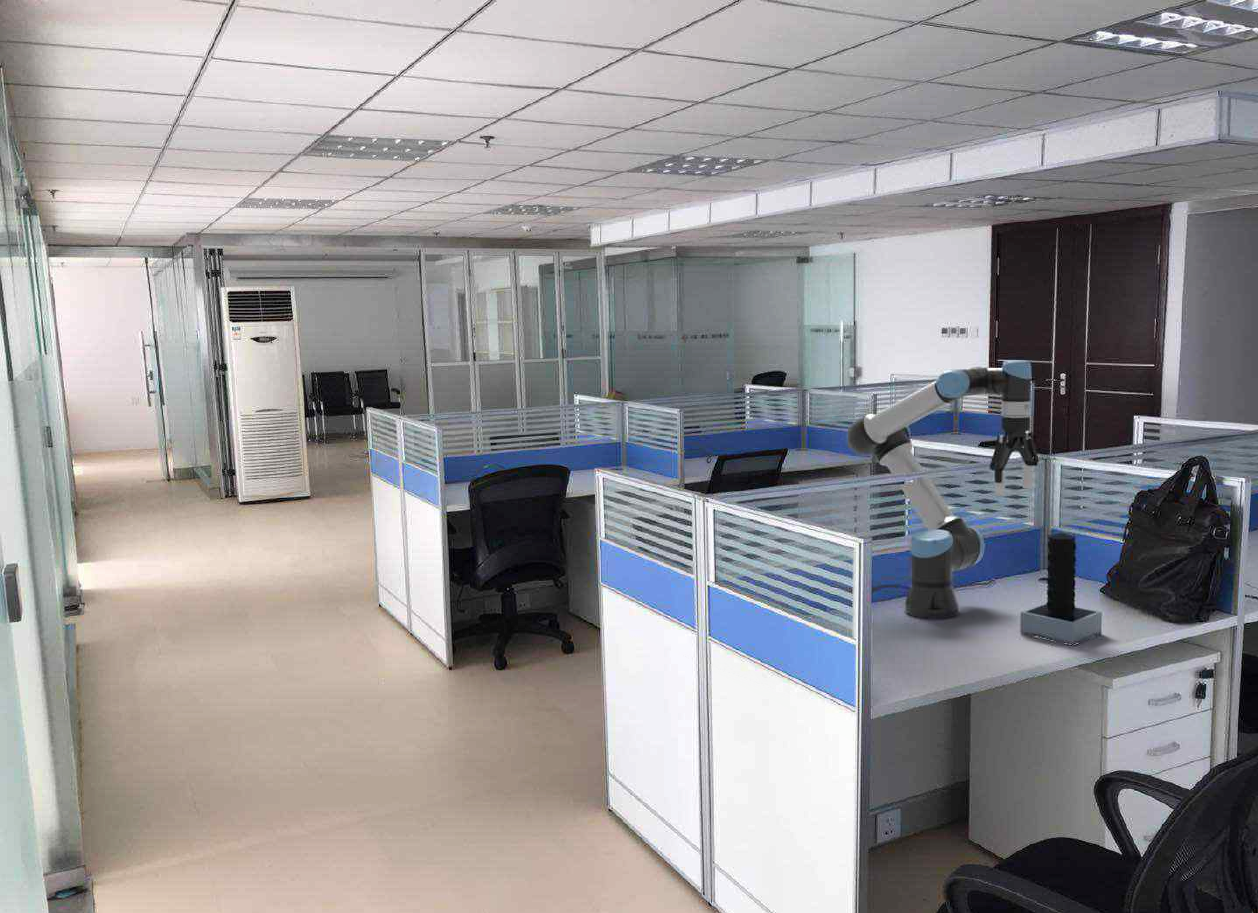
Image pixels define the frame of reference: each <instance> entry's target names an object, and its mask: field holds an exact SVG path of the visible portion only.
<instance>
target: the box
mask: <svg viewBox="0 0 1258 913" xmlns="http://www.w3.org/2000/svg"><path fill="white" fill-rule="evenodd" d="M1047 609H1048V608H1047V602H1045V603H1042V604H1038V605H1036V606H1034V607H1030V608H1028V609H1025V610H1022V611H1020V619H1019V620H1020V621H1019V622H1020V624H1019V626H1020V628H1019V630H1020V631H1019V632H1020V633H1021V634H1020V635H1023V634H1024V636H1027V635H1029V636H1028V637H1032V636H1038V637H1041V638H1046V639H1049V640H1053V641H1056V642H1055V643H1058V642H1060V643H1059V644H1062V643H1067V644H1071V645H1074V644H1076V643H1079V644H1082V643H1083V642H1082V641H1084V642H1086V641H1088V640H1090V639H1089V638H1091V637H1093V636H1095V637H1097V635H1098V636H1099V634H1100V635H1102V626H1103V625H1102V624H1103V622H1102V619H1103V618H1102V615H1103V614H1102V611H1098V610H1094V609H1089V608H1085V607H1079V606H1075V609H1074V611H1075V613H1074V617H1075V621H1074V622H1070V621H1065V620H1060V619H1055V618H1051V617H1047V613H1048V612H1047ZM1093 638H1094V637H1093ZM1087 639H1088V640H1087ZM1091 639H1092V638H1091ZM1049 640H1048V641H1049ZM1085 640H1086V641H1085ZM1053 641H1052V642H1053ZM1067 644H1066V645H1067ZM1071 645H1070V646H1071Z"/></svg>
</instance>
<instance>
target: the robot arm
mask: <svg viewBox="0 0 1258 913" xmlns="http://www.w3.org/2000/svg"><path fill="white" fill-rule="evenodd" d="M1032 378H1033V375H1032V364H1031V362H1029V360H1007V361H1006V360H1005V361H1003V363H1002V366H1001V367H980V366H974V367H967V368H965V369H964V368H963V369H956V368H955V369H950V370H946V371H944V372H941V374H940V376H938V378H937V380H935V381H933V382H931V383H930V384H928V385H925V386H924V387H922V388H920V389H919V390H916V391H915V392H913V393H911V394H910V395H908V396H906V397H904V398H902V399H901V400H898V401H897V402H895V403H893V404H891V405H890V406H888V407H886V408H884V409H883V410H881V411H879V412H877V413H876V414H874V413H869V414H867V415H865V416H863V417H861V418H859V419H857V420H855V421H854V422H853V423H852V424H851V425H850V426H849V427H848V429H847V432H846V442H847V445H848V447H849V448H850V450H851V451H852V452H854V453H855V454H857V455H859V456H865V457H869V456H874V457H875V458H876V460H877V461H878V463H879V465H880V466H884V467H887V468H888V470H889V471H890V473H891V475H893V474H894V473H903V472H906V474H907V473H909V472H920V473H922V472H925V471H924V470H925V469H923V467H922V466H921V464H920V462H919V461H918V459H917V458H916V457H915V455H914V453H913V452H912V450H913V443H912V442H911V438H912V437H911V434H912V433H911V432H912V431H911V429H910V425H911V424H914V423H916V422H917V421H919V420H921V419H922V418H925V417H926V416H929V415H930V414H933V413H934V412H936V411H938V410H940V409H942V408H944V407H945V406H947V405H949V404H951V403H953V402H955V401H957V400H959V399H961V398H963V397H969V396H977V395H1001V407H1000V408H1001V412H1000V413H1001V416H1002V417H1001V420H1000V421H1001V422H1000V429H1001V430H1002V431H1004V434H1003V435H1002V434H998V435H997V436H996V437H997V438H996V444H995V448H994V450H993V451H994V452H993V454H992V457H991V461H990V464H989V469H990V470H991V471H993V472H994V494H995V495H1001V496H1005V495H1006V473H1007V472H1006V471H1004V470H1005V468H1006V466H1007V463H1008V462H1009V459H1010V457H1011V455H1012V453H1014V452H1015V451H1017V450H1018V454H1019V455H1020V457H1021V458H1022V461H1023V463H1024V464H1023V466H1022V488H1023V489H1030V490H1032V489H1034V485H1033V484H1034V466H1035V467H1037V466H1038V463H1039V461H1040V460H1039V456H1038V452H1037V449H1036V444H1035V442H1034V432H1033V431H1030V430H1031V418H1030V417H1029V416H1030V415H1031V408H1032V407H1031V395H1032V394H1031V393H1032V392H1031V391H1032V389H1031V388H1032V387H1031V386H1032ZM902 475H904V474H902ZM900 489H902V492H903V493H904V495H905V496H906V498H907V499H908V501H909V502H910V504H911V505H912V507H913V508H914V510H915V512H916V513H917V514H918V517H919V518H920V520H921V521H922V523H923V524H924V525H925V526H926V529H927V530H921V531H918V532H915V533H914V534H913V535H912V536H911V539H910V546H909V552H910V586H909V589H908V592H907V596H906V598H905V601H904V612H905V613H906V614H908V615H909V616H912V617H917V618H921V619H922V618H923V619H933V620H937V619H938V620H940V619H941V620H942V619H948V618H953V617H956V616H958V615H959V614H960V608H959V606H960V605H959V603H958V600H957V597H956V594H955V591H954V589H953V572H956V571H960V570H963V569H969V568H971V567H972V566H974V565H976V564H977V563H979V562H980V561H981V559H982V558H983V556H984V554H985V548H986V546H985V540H984V537H983V535H982V533H981V532H980V531H979V530H978V529H976V528H974V527H971V526H967V524H966V523H965V521H964V519H963V518H962V517H961V516H956V515H954V514H953V513H952V511H951V509H950V507H949V506H948V505H947V503H946V502H945V500H944V499H943V497H942V496H941V494H940V493H939V492H938V489H937V488H936V487H935V485H934V484H933V483H932V481H931V479H930V478H929V476H928V477H920V478H917V479H916V480H913V482H907V483H906V484H905V485H903V486H901V487H900Z"/></svg>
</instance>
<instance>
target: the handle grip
mask: <svg viewBox="0 0 1258 913" xmlns="http://www.w3.org/2000/svg"><path fill="white" fill-rule="evenodd" d="M1047 539H1048V541H1047V561H1048V562H1047V567H1046V568H1047V574H1046V576H1047V579H1046V580H1047V581H1046V583H1047V586H1046V587H1047V589H1046V595H1047V596H1046V600H1047V602H1046V603H1047V608H1048V609H1047V612H1048V613H1047V617H1051V618H1055V619H1060V620H1065V621H1070V622H1074V621H1075V617H1074V613H1075V611H1074V609H1075V607H1076V605H1075V601H1076V599H1075V598H1076V591H1075V590H1076V587H1075V586H1076V579H1075V578H1076V566H1077V565H1076V561H1077V559H1076V558H1077V557H1076V554H1077V552H1076V549H1077V544H1076V539H1077V536H1076V535H1072V534H1067V533H1064V532H1059V533H1053V534H1049V535H1047Z"/></svg>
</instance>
